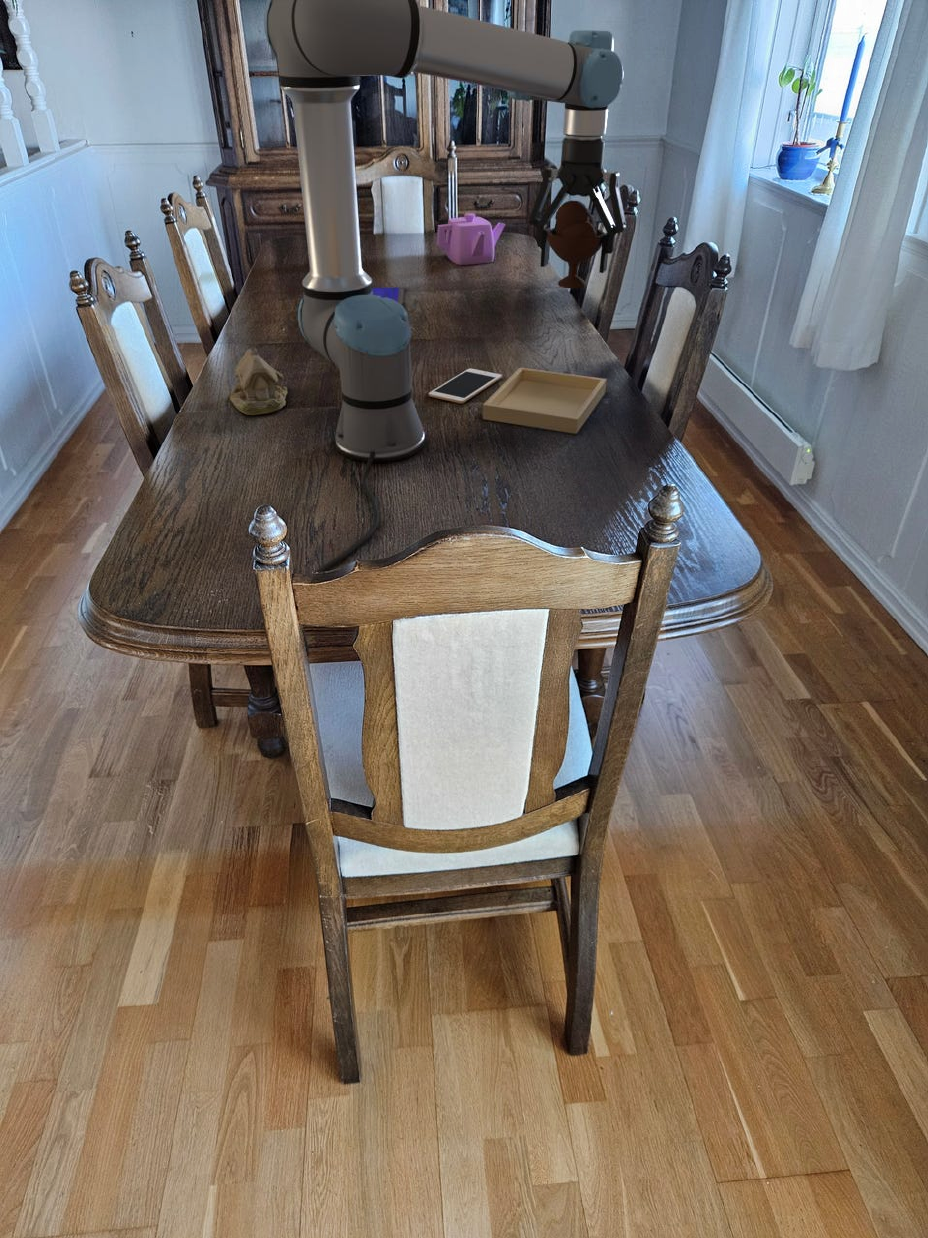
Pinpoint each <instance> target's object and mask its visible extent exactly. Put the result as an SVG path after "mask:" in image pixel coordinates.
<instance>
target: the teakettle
mask: <svg viewBox="0 0 928 1238" xmlns="http://www.w3.org/2000/svg"><path fill="white" fill-rule="evenodd" d="M505 226H506V224H505V223H504V222H497V224H496V225H495V226H494V227H492V224H491V222H490V221H488V220H487V219H486V218H483V217H481V216H476V214H475V213H474V212H473V213H472V212H468V213H464V214H463V216H459V217H458V216H457V217H452V218H449V219H448V220H447V223H446V224H438V225H437V231H436V233H437V234H436V246H438V247H439V248H441V249H443V250H444V251H445V254H446V256H447V259H449V261H451V262H452V263H454V264H456V265H459V266H468V265H469V266H470V265H480V264H481V265H482V264H491V263H493V261H494V259H495V246H496V245H497V243H498V240H499V238H500V236H501V234H502V232H503V231H504V228H505Z"/></svg>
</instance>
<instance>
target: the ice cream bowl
mask: <svg viewBox="0 0 928 1238" xmlns="http://www.w3.org/2000/svg"><path fill="white" fill-rule="evenodd" d="M554 216H555V217H554V218H555V224H554V227H553V228H550V230H548V231H547V238H548V242H549V248H551V250H552V251H553V253H555V255H556V256H557V257H558V258H559V259H560V260H562V261H563V262H566V263H567V264H568V274H567V276H564V277H563V278H561V279H560V280H558V282H557V286H559V287H560V288H564V289H574V290H575V289H583V288H585V287H587V283H586V281H585V280H583V279H582V278H581V277H580V276H578V271H579V270H578V269H579V266H580V264H581V263H583V262H584V263H585V262H586V261H588V260H589V259H591V258H592V257H594V256H595V255H596V254H597V253H598V252H599V251H601V249H602V240H603V235H604V234H606V232H604V231H603V230H602V229H598V228H597V222H596V218H595V217H594V215H593V214H592V213H591V212H590V211H589V208H588V207H587V206H586V204H584V203H583V202H581V201H580V200H568V201H565V202H563V203H561V205H560V206H559V208H558V209H557V211H556V212H555V215H554Z"/></svg>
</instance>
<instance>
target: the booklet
mask: <svg viewBox="0 0 928 1238" xmlns="http://www.w3.org/2000/svg"><path fill="white" fill-rule="evenodd" d="M372 290H373V295H377V296H380V297H381V298H385V297H387V298H390V299H392V300H395V301H396V302H398V303H399V304H401V305H402V306H403V303H404V296H405V295H404V294H405V288H400V287H372Z"/></svg>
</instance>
